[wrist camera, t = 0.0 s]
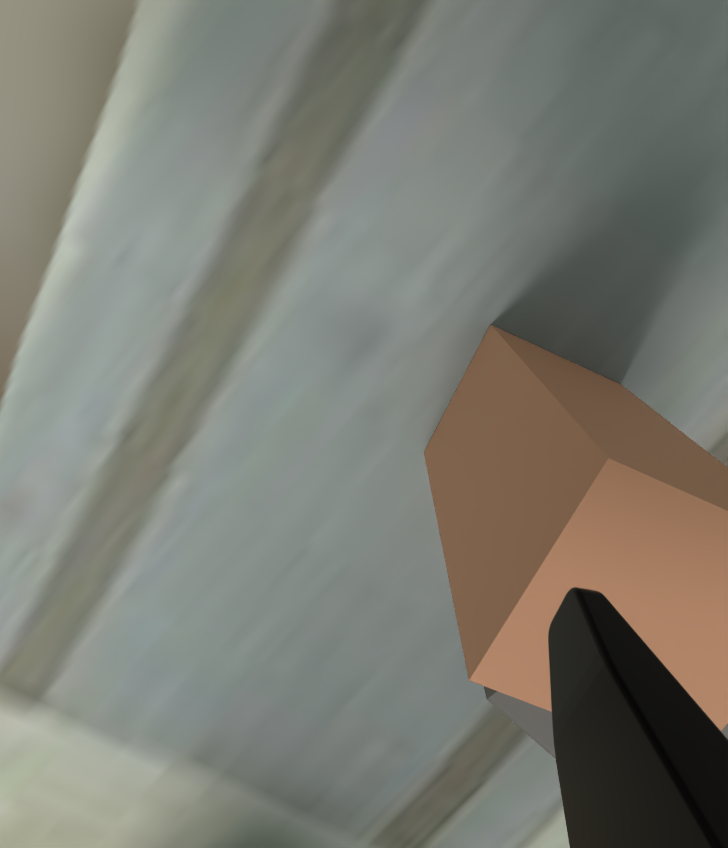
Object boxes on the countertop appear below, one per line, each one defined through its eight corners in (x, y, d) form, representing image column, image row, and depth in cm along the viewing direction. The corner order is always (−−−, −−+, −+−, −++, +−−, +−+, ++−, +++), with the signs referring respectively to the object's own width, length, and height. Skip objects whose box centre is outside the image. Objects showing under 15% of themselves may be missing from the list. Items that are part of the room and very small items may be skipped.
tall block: (547, 505, 26) (693, 765, 14) (423, 452, 25) (469, 680, 14) (621, 384, 24) (855, 567, 12) (490, 324, 24) (608, 458, 12)
